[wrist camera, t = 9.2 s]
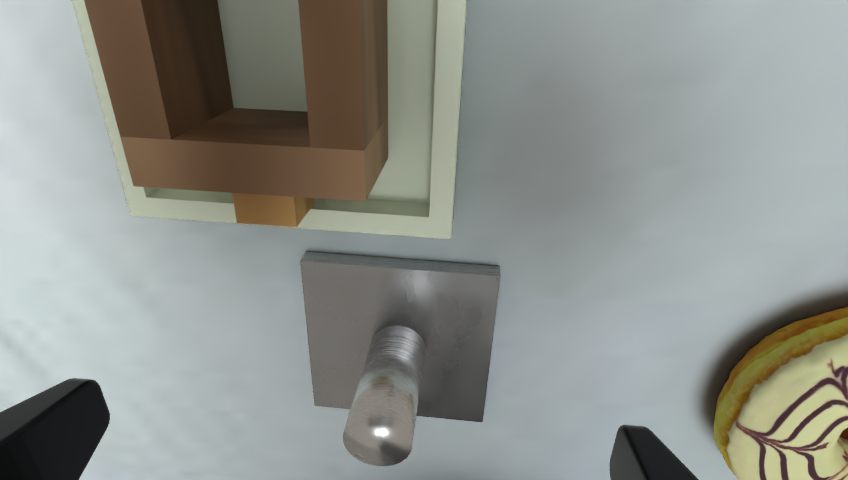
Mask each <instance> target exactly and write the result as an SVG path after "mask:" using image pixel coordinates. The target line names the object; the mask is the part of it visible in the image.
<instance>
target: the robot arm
mask: <svg viewBox="0 0 848 480" xmlns="http://www.w3.org/2000/svg"><path fill="white" fill-rule="evenodd" d="M109 420H110V413H109V410H108V407H107V404H106V402H105V399H104V396H103V393H102V391H101V388H100V386H99V384H98V383H97V382H96V381H95V380H90V379H78V378H73V379H68V380H66V381H64V382H62V383H60V384H58V385H56V386H54V387H52V388H49V389H47V390H45V391H43V392H41V393H39V394H37V395H35V396H33V397H31V398H29V399H27V400H25V401H23V402H21V403H19V404H17V405H15V406H12V407H10V408H8V409H6V410H4V411H2V412H0V480H79V478H80V476H81V474H82V473H83V471H84V469H85V467H86V465H87V464H88V462H89V460H90V458H91V456H92V455H93V453H94V451H95V449H96V447H97V446H98V444H99V442H100V440H101V438H102V436H103V435H104V433H105V431H106V429H107V427H108V424H109ZM610 477H611V480H698V479H697V478H696V476H695V475H694V474H693V473H692V472H691V471H690V470H689V469H688V468H687V467H686V466H685V465H684V464H683V463H682V462H681V461H680V460H679V459H678V458H677V457H676V456H675V455H674V454H673V453H672V452H671V451H670V450H669V449H668V448H667V447H666V446H665V445H664V444H663V443H662V442H661V440H660V439H659V438H658V437H657V436H656V435H655V434H654V433H653V432H652V431H651V430H649V429H648V428H646V427H643V426H632V425H622V426H620V428H619V429H618V432H617V435H616V439H615V443H614V447H613V451H612V455H611V459H610Z"/></svg>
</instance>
